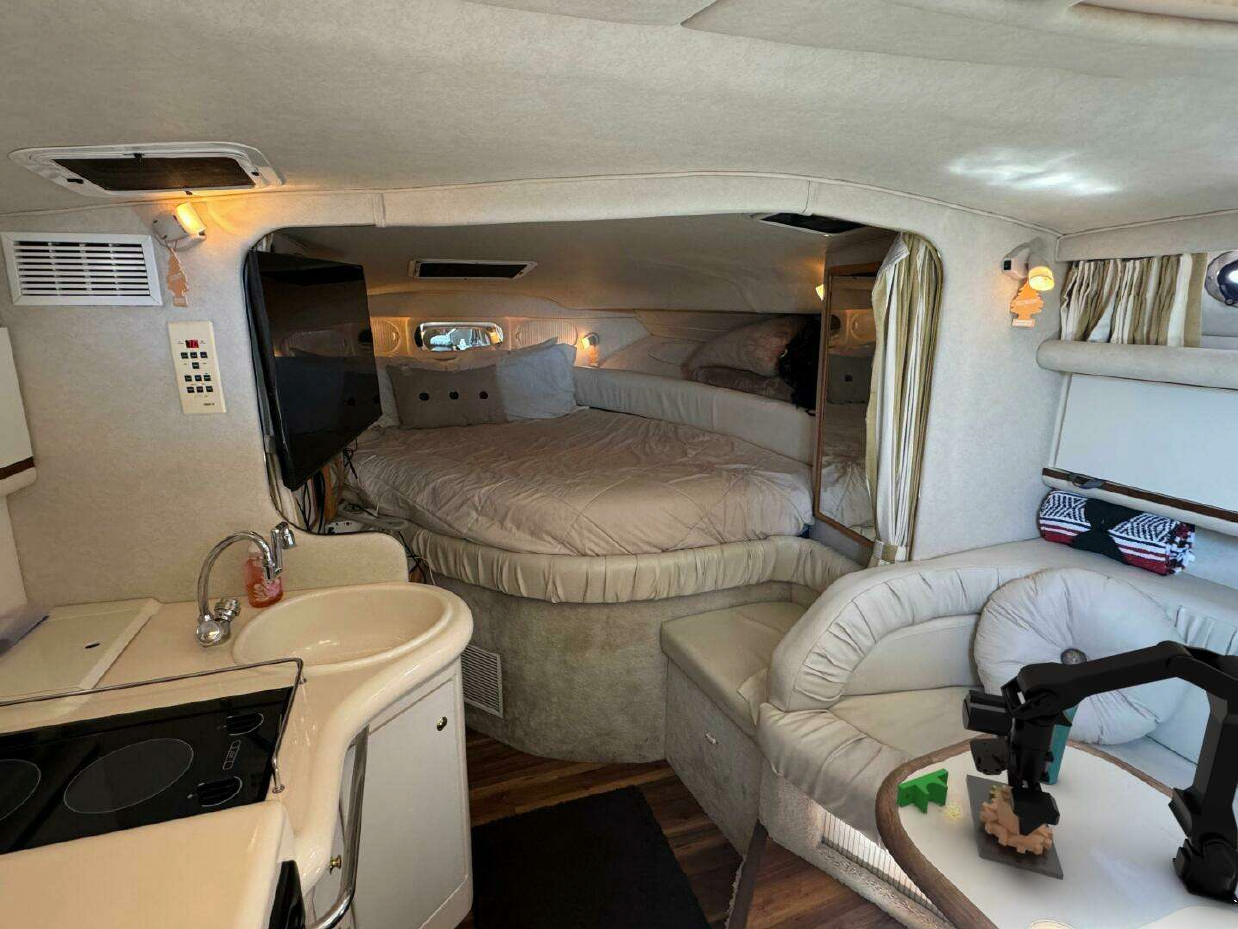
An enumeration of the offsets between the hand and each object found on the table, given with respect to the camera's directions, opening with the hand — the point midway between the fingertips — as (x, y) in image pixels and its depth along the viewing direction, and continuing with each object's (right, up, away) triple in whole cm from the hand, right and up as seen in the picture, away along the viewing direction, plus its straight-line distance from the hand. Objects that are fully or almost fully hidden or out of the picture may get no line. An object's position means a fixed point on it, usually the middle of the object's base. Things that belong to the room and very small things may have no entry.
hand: (1017, 813), depth 109 cm
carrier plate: (+1, -4, +4) cm, 6 cm away
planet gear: (0, -3, +1) cm, 3 cm away
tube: (+15, -1, +15) cm, 21 cm away
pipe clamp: (-11, -3, +10) cm, 15 cm away
